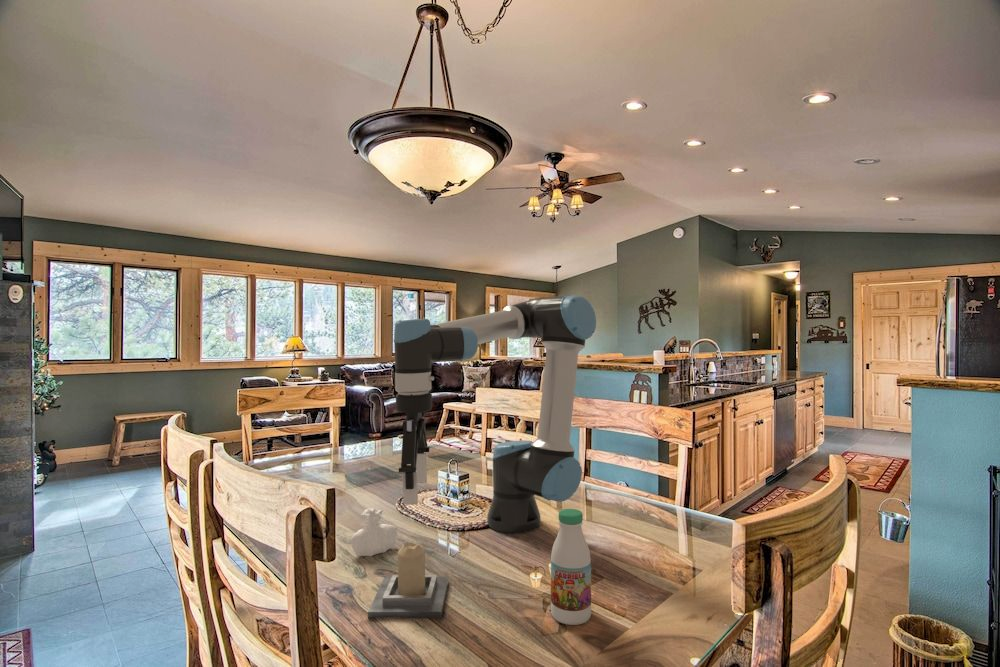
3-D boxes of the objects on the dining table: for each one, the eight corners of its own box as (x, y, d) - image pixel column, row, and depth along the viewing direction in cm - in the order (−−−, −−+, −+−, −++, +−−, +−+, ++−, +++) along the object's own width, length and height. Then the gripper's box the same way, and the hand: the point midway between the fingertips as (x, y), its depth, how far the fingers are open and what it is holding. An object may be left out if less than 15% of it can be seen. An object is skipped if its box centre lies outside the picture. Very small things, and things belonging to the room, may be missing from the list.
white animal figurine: (395, 553, 133) (384, 510, 138) (405, 542, 128) (393, 499, 133) (349, 565, 126) (339, 520, 131) (358, 555, 121) (348, 509, 126)
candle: (429, 587, 108) (428, 540, 108) (419, 601, 103) (418, 551, 103) (404, 584, 109) (404, 537, 109) (393, 598, 104) (393, 548, 104)
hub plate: (448, 582, 113) (448, 569, 113) (441, 618, 99) (440, 604, 99) (384, 582, 113) (384, 569, 113) (368, 618, 99) (367, 604, 99)
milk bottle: (547, 605, 103) (547, 505, 103) (585, 603, 104) (585, 504, 104) (555, 627, 96) (554, 520, 95) (595, 625, 96) (595, 518, 96)
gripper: (423, 400, 96) (425, 514, 96) (438, 384, 121) (439, 474, 121) (383, 401, 96) (385, 515, 96) (406, 385, 121) (407, 475, 121)
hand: (415, 492), depth 109 cm, fingers open, 13 cm apart
